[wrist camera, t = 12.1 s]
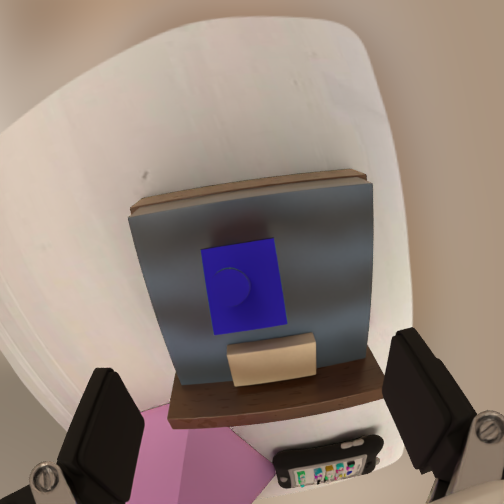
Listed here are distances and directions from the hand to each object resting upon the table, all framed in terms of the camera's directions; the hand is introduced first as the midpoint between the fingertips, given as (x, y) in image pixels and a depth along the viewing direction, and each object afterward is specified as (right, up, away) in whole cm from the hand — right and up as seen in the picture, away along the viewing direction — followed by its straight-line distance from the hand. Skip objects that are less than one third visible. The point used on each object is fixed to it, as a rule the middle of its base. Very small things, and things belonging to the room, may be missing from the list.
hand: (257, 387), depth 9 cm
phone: (+10, -25, +27) cm, 38 cm away
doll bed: (0, +3, +16) cm, 16 cm away
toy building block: (-1, +3, +10) cm, 10 cm away
